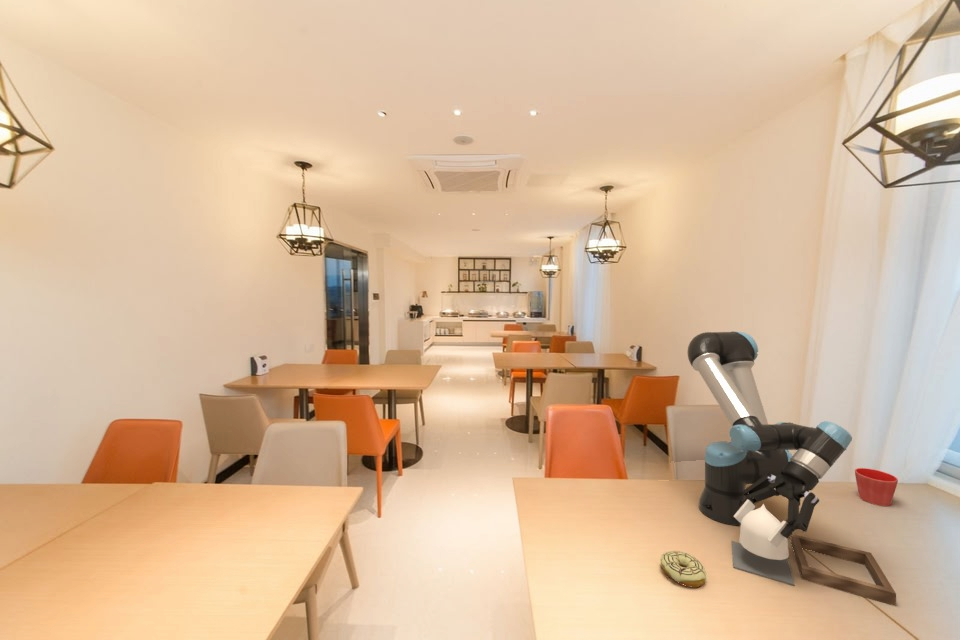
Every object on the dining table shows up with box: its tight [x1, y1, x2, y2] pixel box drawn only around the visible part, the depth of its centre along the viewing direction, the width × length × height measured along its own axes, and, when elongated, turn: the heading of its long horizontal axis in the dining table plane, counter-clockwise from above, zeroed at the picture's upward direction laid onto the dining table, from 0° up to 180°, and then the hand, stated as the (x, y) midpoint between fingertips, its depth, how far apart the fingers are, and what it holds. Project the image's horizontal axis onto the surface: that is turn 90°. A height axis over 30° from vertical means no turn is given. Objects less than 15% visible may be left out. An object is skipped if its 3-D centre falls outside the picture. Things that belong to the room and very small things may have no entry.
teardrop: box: [738, 503, 790, 560], centre depth 103 cm, size 11×11×12 cm
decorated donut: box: [660, 550, 707, 588], centre depth 101 cm, size 10×11×4 cm
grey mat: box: [731, 540, 796, 587], centre depth 105 cm, size 13×13×1 cm
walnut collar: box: [790, 533, 897, 607], centre depth 101 cm, size 17×17×3 cm
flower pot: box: [854, 467, 899, 507], centre depth 135 cm, size 11×11×10 cm
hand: (753, 531), depth 103 cm, fingers closed on teardrop, 10 cm apart
